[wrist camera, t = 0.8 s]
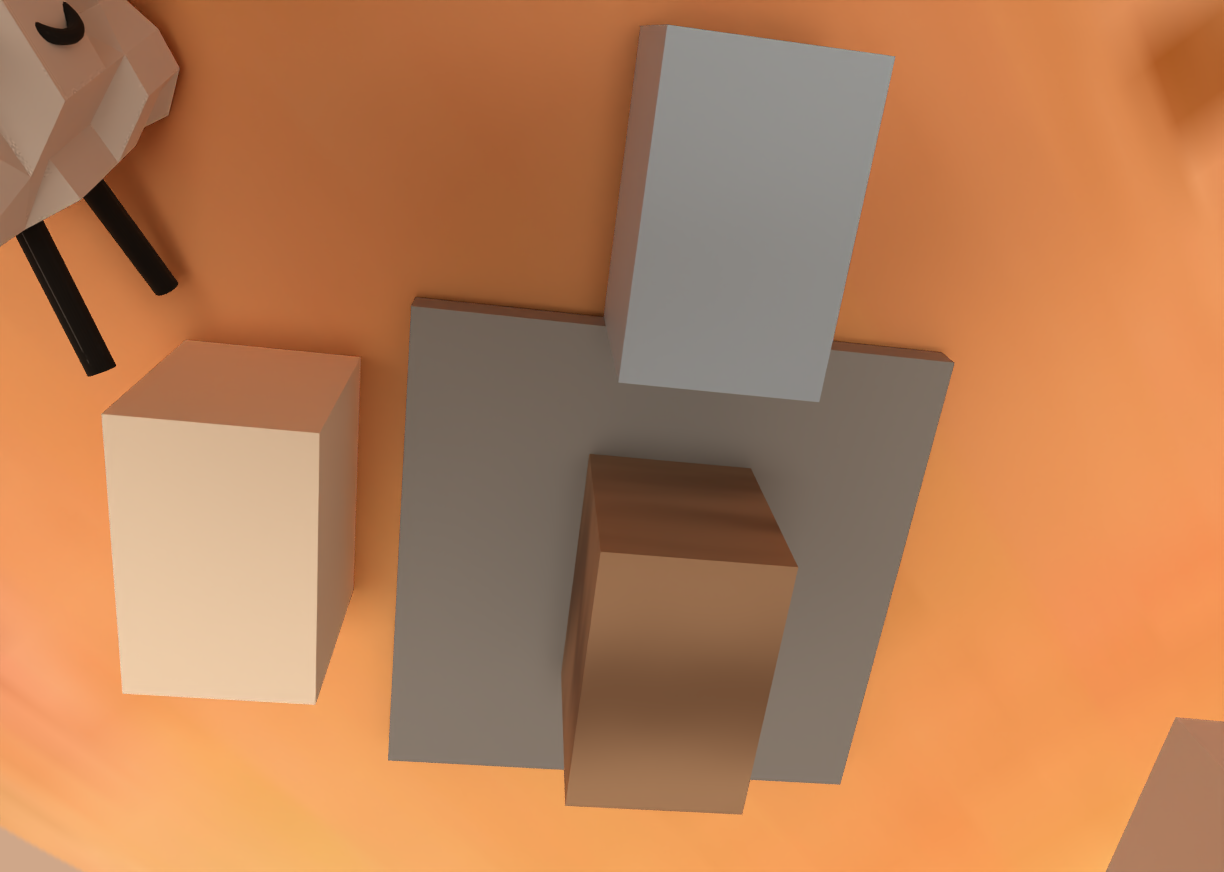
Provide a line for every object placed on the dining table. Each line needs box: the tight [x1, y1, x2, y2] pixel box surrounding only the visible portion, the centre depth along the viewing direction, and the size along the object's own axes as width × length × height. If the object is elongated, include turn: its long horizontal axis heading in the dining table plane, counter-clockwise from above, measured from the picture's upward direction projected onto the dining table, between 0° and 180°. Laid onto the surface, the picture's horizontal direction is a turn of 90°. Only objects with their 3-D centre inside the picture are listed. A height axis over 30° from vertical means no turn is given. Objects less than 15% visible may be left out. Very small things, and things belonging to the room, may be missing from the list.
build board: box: [388, 297, 954, 784], centre depth 32 cm, size 16×16×1 cm
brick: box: [101, 340, 361, 705], centre depth 27 cm, size 8×5×6 cm, turn 173°
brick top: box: [604, 25, 895, 402], centre depth 25 cm, size 8×5×6 cm, turn 173°
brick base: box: [561, 454, 798, 814], centre depth 28 cm, size 8×5×6 cm, turn 173°
